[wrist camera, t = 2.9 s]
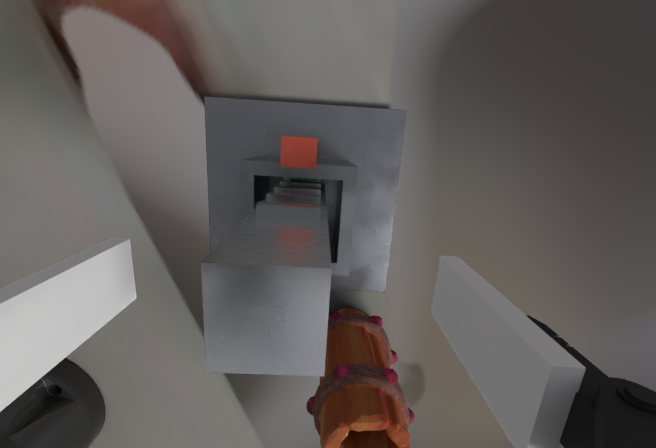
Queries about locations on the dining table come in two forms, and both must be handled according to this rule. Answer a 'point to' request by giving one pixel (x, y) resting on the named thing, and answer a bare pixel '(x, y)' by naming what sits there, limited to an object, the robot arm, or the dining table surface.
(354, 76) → the dining table surface
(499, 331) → the robot arm
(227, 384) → the dining table surface
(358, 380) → the mug
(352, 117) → the stand base
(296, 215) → the column
